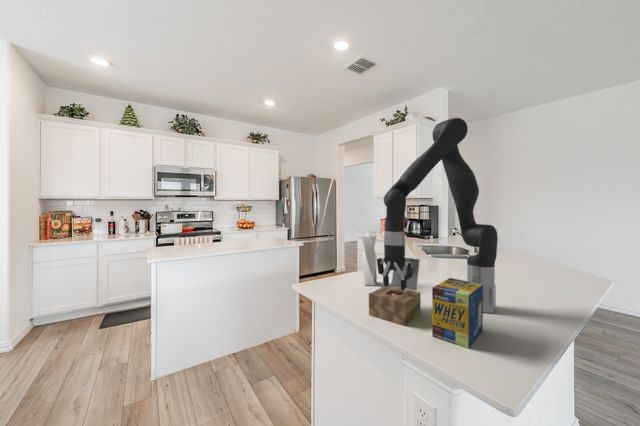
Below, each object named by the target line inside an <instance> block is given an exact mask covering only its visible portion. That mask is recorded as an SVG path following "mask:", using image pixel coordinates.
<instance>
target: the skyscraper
mask: <svg viewBox="0 0 640 426" xmlns="http://www.w3.org/2000/svg"><path fill="white" fill-rule="evenodd" d="M372 233H373V234H374V235H373V234H372ZM361 239H362V244H363V254H362V269H363V271H362V272H363V277H364V280H363V284H364V286H365V287H379V286H380V284H379V283H378V280H377V278H378V277H377V276H378V275H377V256H376V251H375V250H376V249H375V246H376V241H377V234H376V232H374V231H369V233H362V235H361Z"/></svg>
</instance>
